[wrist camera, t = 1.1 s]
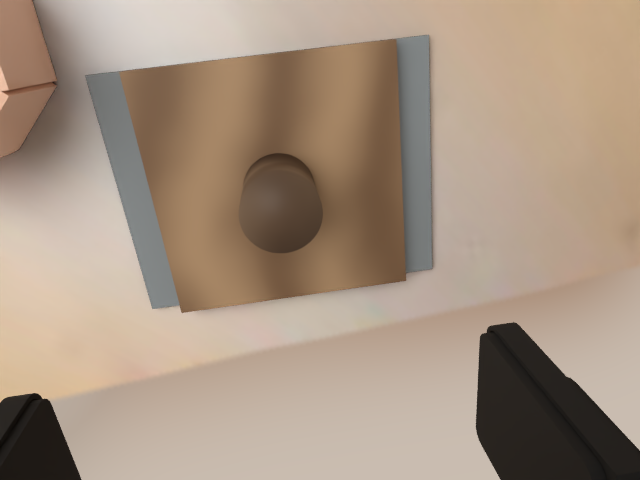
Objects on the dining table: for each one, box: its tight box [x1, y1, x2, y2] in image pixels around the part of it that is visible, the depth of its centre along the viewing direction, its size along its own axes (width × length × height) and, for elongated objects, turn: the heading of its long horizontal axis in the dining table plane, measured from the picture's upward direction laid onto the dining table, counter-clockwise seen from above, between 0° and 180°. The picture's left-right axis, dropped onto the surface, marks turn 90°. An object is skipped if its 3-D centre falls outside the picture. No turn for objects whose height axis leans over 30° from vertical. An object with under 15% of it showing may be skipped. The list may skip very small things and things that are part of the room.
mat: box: [85, 35, 432, 309], centre depth 28 cm, size 18×14×1 cm
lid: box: [119, 39, 406, 313], centre depth 25 cm, size 14×14×5 cm
